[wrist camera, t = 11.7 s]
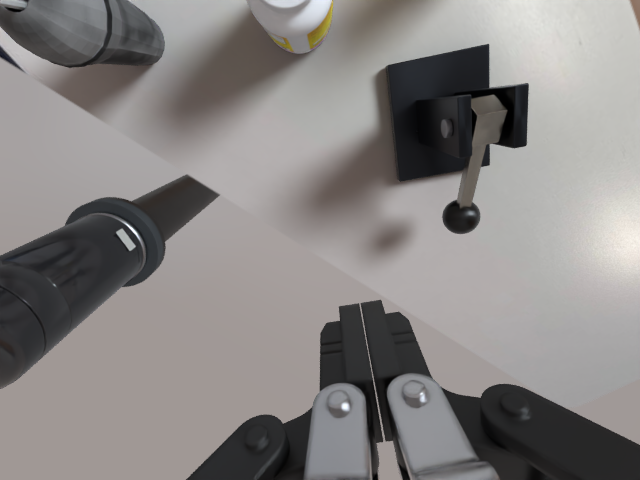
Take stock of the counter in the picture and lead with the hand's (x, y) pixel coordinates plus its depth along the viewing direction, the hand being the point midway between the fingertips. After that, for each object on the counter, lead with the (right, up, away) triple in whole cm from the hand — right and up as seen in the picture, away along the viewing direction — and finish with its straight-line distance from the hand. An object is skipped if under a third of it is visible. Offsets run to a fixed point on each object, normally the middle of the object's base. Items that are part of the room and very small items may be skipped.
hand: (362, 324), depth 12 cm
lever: (+12, +10, +20) cm, 25 cm away
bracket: (+11, +16, +25) cm, 32 cm away
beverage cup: (-20, +23, +22) cm, 38 cm away
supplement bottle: (-4, +25, +22) cm, 33 cm away
